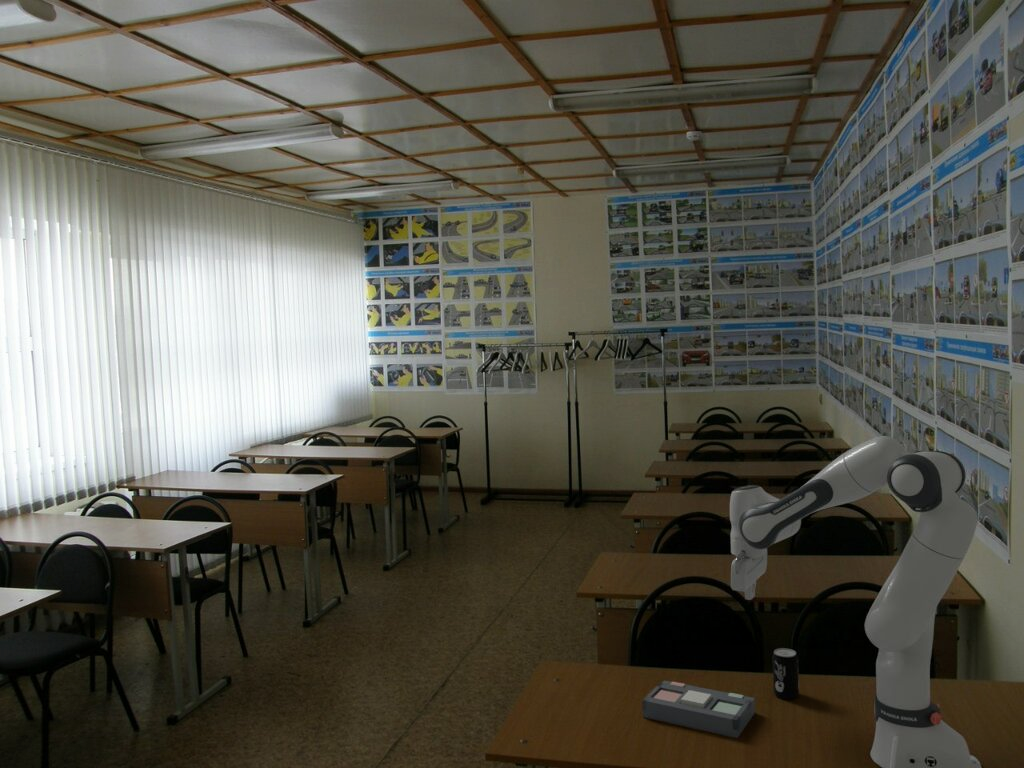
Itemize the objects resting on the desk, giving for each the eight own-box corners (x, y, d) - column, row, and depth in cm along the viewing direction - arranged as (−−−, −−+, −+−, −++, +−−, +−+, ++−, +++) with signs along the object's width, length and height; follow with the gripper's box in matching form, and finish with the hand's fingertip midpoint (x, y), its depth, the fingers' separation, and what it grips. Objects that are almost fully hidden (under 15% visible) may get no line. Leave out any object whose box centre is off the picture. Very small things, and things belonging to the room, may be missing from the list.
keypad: (754, 712, 214) (754, 696, 214) (737, 738, 202) (736, 720, 201) (664, 694, 228) (664, 678, 228) (642, 717, 215) (642, 700, 215)
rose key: (682, 701, 219) (682, 694, 218) (674, 710, 214) (673, 703, 213) (661, 697, 222) (660, 689, 222) (652, 706, 217) (652, 698, 217)
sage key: (742, 713, 210) (741, 706, 210) (734, 723, 205) (734, 715, 205) (719, 709, 213) (718, 701, 213) (711, 718, 208) (711, 711, 208)
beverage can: (800, 701, 220) (799, 657, 219) (775, 700, 221) (773, 656, 220) (797, 690, 226) (796, 647, 225) (772, 689, 227) (771, 647, 227)
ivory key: (711, 701, 214) (711, 694, 214) (703, 711, 209) (703, 703, 209) (689, 697, 217) (689, 690, 217) (681, 706, 212) (680, 699, 212)
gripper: (748, 557, 206) (750, 612, 206) (770, 538, 223) (772, 588, 223) (723, 555, 209) (725, 608, 210) (747, 536, 226) (749, 586, 227)
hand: (749, 598), depth 217 cm, fingers closed
